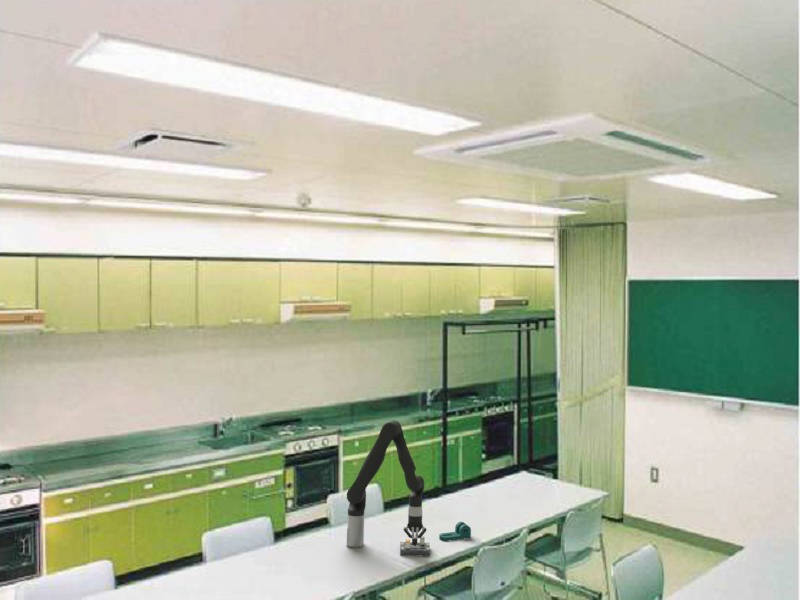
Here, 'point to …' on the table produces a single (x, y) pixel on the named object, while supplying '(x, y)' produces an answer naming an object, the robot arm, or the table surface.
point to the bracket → (457, 533)
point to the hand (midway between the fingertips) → (414, 545)
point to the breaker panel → (415, 549)
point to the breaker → (422, 540)
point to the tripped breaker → (407, 544)
